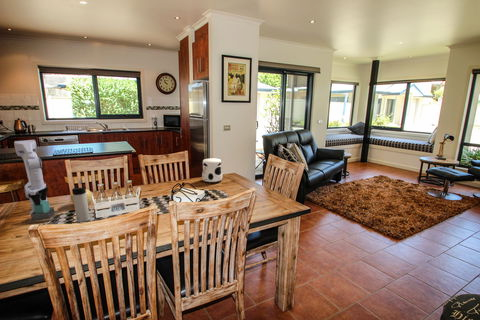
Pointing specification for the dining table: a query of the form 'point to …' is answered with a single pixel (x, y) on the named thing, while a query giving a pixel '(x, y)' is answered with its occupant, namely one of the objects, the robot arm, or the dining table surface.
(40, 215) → the cup bracket
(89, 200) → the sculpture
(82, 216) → the travel mug
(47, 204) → the teal rectangular block
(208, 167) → the milk container
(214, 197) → the dining table surface
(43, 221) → the mounting board
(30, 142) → the robot arm
